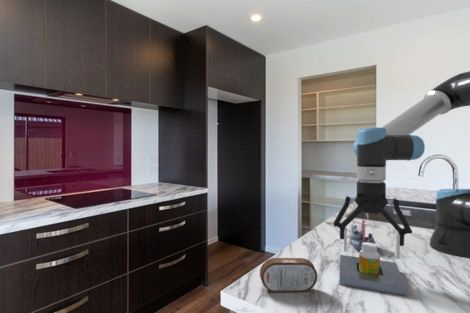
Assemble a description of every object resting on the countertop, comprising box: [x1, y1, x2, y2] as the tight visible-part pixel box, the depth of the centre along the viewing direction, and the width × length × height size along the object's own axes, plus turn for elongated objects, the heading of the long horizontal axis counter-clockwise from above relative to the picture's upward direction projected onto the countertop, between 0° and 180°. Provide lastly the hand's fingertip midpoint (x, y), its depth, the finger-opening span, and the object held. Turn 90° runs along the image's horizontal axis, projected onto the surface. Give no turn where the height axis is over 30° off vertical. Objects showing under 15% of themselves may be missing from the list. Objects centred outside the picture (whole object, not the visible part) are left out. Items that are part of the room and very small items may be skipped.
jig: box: [339, 254, 408, 297], centre depth 79 cm, size 16×16×2 cm
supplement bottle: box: [358, 242, 381, 275], centre depth 79 cm, size 5×5×10 cm
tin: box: [259, 257, 318, 293], centre depth 71 cm, size 15×3×8 cm, turn 92°
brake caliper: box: [347, 219, 376, 252], centre depth 102 cm, size 11×11×12 cm
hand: (370, 253), depth 79 cm, fingers open, 13 cm apart
